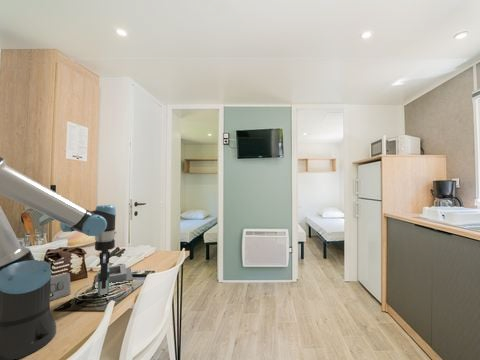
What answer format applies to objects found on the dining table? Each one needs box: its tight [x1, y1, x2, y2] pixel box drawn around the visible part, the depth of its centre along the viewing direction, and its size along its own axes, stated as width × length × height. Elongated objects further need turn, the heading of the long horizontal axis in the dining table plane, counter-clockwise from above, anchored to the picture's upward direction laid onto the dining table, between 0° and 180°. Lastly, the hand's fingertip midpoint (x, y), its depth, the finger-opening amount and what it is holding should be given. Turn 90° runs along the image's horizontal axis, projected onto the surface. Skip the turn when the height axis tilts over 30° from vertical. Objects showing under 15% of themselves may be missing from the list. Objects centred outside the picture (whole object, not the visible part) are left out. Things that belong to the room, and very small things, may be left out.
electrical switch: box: [50, 272, 72, 302], centre depth 93 cm, size 9×5×9 cm, turn 141°
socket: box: [94, 263, 134, 284], centre depth 111 cm, size 18×16×4 cm
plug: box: [97, 269, 110, 295], centre depth 95 cm, size 4×4×10 cm
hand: (103, 292), depth 95 cm, fingers closed on plug, 4 cm apart
